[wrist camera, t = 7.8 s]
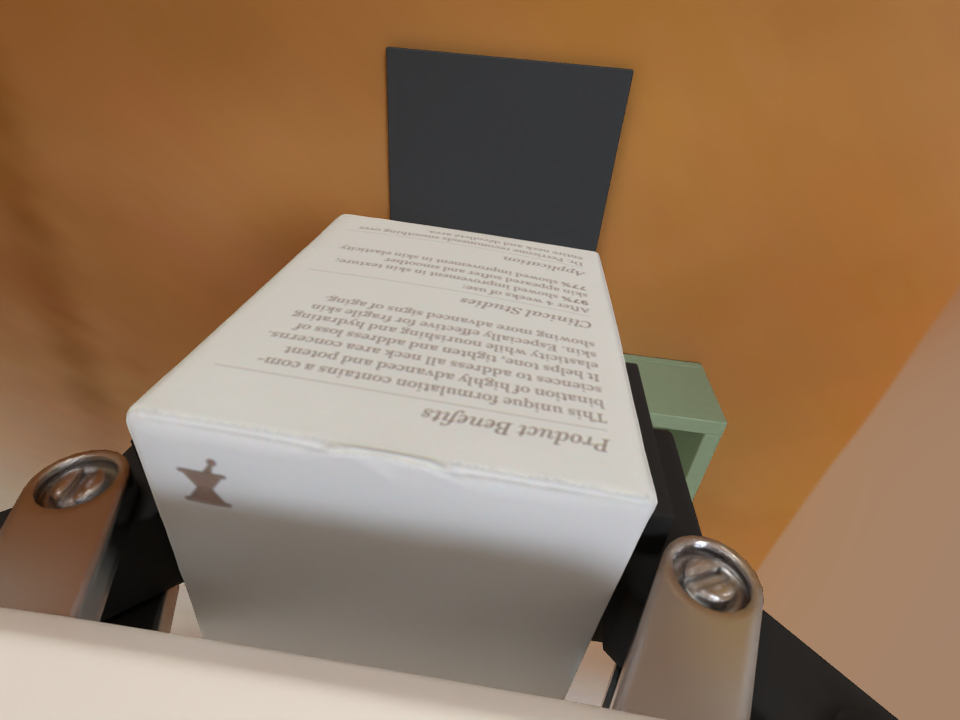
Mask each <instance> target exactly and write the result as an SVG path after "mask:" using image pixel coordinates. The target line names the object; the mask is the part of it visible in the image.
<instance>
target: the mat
mask: <svg viewBox="0 0 960 720" xmlns="http://www.w3.org/2000/svg"><path fill="white" fill-rule="evenodd" d="M386 54H387V96H388V137H389V179H390V220H393V221H400V222H407V223H414V224H421V225H428V226H435V227H441V228H448V229H454V230H461V231H468V232H474V233H481V234H487V235H494V236H500V237H506V238H513V239H519V240H525V241H532V242H538V243H544V244H550V245H556V246H563V247H569V248H575V249H581V250H587V251H594V252H596V247H597V243H598V238H599V233H600V228H601V224H602V219H603V214H604V209H605V205H606V200H607V195H608V190H609V186H610V181H611V176H612V171H613V167H614V162H615V157H616V152H617V148H618V143H619V138H620V133H621V129H622V124H623V119H624V114H625V109H626V105H627V100H628V95H629V90H630V86H631V81H632V76H633V70H632V69H622V68H611V67H600V66H589V65H579V64H568V63H557V62H546V61H536V60H525V59H514V58H503V57H492V56H482V55H471V54H460V53H449V52H439V51H428V50H417V49H406V48H396V47H387V48H386Z"/></svg>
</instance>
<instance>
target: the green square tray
mask: <svg viewBox="0 0 960 720" xmlns="http://www.w3.org/2000/svg"><path fill="white" fill-rule="evenodd" d="M623 355H624V359H625V362H628V363H636V364H637V365H638V368H639V372H640V376H641V380H642V384H643V388H644V393H645V397H646V401H647V405H648V409H649V413H650V417H651V421H652V425H653V429H661V430H668V431H670V432H671V433H672V435H673V438H674V441H675V444H676V448H677V451H678V454H679V458H680V461H681V465H682V468H683V472H684V475H685V479H686V482H687V486H688V489H689V493H690V496H691V500H693V498H694V496H695V494H696V491H697V489H698V487H699V485H700V482H701V480H702V478H703V476H704V474H705V471H706V469H707V467H708V465H709V462H710V460H711V458H712V456H713V454H714V451H715V449H716V447H717V445H718V442H719V440H720V438H721V436H722V434H723V432H724V430H725V427H726V425H727V421H726V419H725V417H724V415H723V412H722V410H721V408H720V406H719V403H718V401H717V399H716V396H715V394H714V392H713V390H712V387H711V385H710V383H709V380H708V378H707V376H706V374H705V371H704V369H703V367H702V365H701V364H700V363H692V362H684V361H677V360H669V359H661V358H653V357H645V356H637V355H629V354H623Z"/></svg>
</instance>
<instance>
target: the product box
mask: <svg viewBox="0 0 960 720" xmlns="http://www.w3.org/2000/svg"><path fill="white" fill-rule="evenodd" d="M126 423H127V426H128V429H129V432H130V434H131V437H132V439H133V442H134V444H135V447H136V450H137V452H138V455H139V458H140V461H141V463H142V466H143V469H144V472H145V475H146V477H147V480H148V483H149V486H150V488H151V491H152V494H153V497H154V500H155V502H156V505H157V508H158V511H159V513H160V516H161V518H162V521H163V523H164V526H165V529H166V532H167V535H168V538H169V541H170V544H171V546H172V549H173V551H174V555H175V558H176V561H177V564H178V568H179V570H180V573H181V575H182V578H183V580H184V583H185V585H186V588H187V591H188V594H189V597H190V600H191V602H192V606H193V609H194V612H195V615H196V618H197V621H198V624H199V627H200V630H201V633H202V636H203V639H208V640H214V641H220V642H226V643H232V644H238V645H244V646H250V647H256V648H262V649H268V650H274V651H280V652H286V653H292V654H298V655H304V656H310V657H316V658H322V659H328V660H334V661H340V662H346V663H352V664H358V665H363V666H369V667H375V668H381V669H387V670H393V671H399V672H405V673H411V674H416V675H422V676H428V677H434V678H440V679H445V680H451V681H457V682H463V683H468V684H474V685H480V686H486V687H492V688H497V689H503V690H509V691H515V692H520V693H526V694H532V695H538V696H544V697H549V698H555V699H561V700H564V698H565V696H566V694H567V692H568V690H569V688H570V686H571V683H572V681H573V679H574V677H575V674H576V672H577V670H578V668H579V665H580V663H581V661H582V659H583V657H584V654H585V652H586V650H587V648H588V645H589V643H590V641H591V639H592V637H593V635H594V632H595V630H596V628H597V626H598V623H599V621H600V619H601V617H602V615H603V613H604V611H605V609H606V607H607V605H608V603H609V601H610V598H611V596H612V594H613V592H614V590H615V588H616V586H617V584H618V582H619V580H620V578H621V576H622V574H623V572H624V570H625V567H626V565H627V563H628V561H629V559H630V557H631V555H632V553H633V551H634V549H635V546H636V544H637V542H638V540H639V538H640V536H641V534H642V532H643V530H644V528H645V526H646V524H647V522H648V520H649V518H650V517H651V515H652V513H653V512H654V510H655V508H656V505H657V503H658V502H657V496H656V491H655V487H654V484H653V480H652V476H651V473H650V469H649V465H648V461H647V457H646V453H645V449H644V445H643V440H642V435H641V431H640V426H639V422H638V418H637V414H636V410H635V405H634V401H633V397H632V392H631V387H630V383H629V378H628V374H627V370H626V365H625V359H624V355H623V351H622V345H621V341H620V337H619V333H618V328H617V324H616V320H615V316H614V312H613V307H612V304H611V300H610V296H609V292H608V288H607V284H606V280H605V276H604V272H603V268H602V265H601V261H600V257H599V254H598V253H597V252H594V251H587V250H581V249H575V248H569V247H563V246H556V245H550V244H544V243H538V242H532V241H525V240H519V239H513V238H506V237H500V236H494V235H487V234H481V233H474V232H468V231H461V230H454V229H448V228H441V227H435V226H428V225H421V224H414V223H407V222H400V221H393V220H387V219H380V218H371V217H364V216H357V215H350V214H342V215H341V216H339V217H338V218H336V219H335V220H334V221H333V222H332V223H331V224H330V225H329V226H328V227H327V228H326V229H325V230H324V231H323V232H322V233H321V234H320V235H319V236H318V237H316V238H315V239H314V240H313V241H312V242H311V243H310V244H309V245H308V246H307V247H305V248H304V249H303V250H302V251H301V252H300V253H299V254H298V255H297V256H296V257H295V258H293V259H292V260H291V261H290V262H289V263H288V264H287V265H286V266H285V267H284V268H283V269H282V270H280V271H279V272H278V273H277V274H276V275H275V276H274V277H273V278H272V279H271V280H270V281H269V282H267V283H266V284H265V285H264V286H263V287H262V288H261V289H259V290H258V291H257V292H256V293H255V294H254V295H253V296H252V297H251V298H250V299H249V300H248V301H246V302H245V303H244V304H243V305H242V306H241V307H240V308H239V309H238V310H237V311H236V312H235V313H234V314H232V315H231V316H230V317H229V318H228V319H227V320H226V321H225V322H223V323H222V324H221V325H220V326H219V327H218V328H217V329H216V330H215V331H214V332H213V333H211V334H210V335H209V336H208V337H207V338H206V339H205V340H204V341H203V342H202V343H200V344H199V345H198V346H197V347H196V348H195V349H194V350H193V351H192V352H191V353H190V354H189V355H187V356H186V357H185V358H184V359H183V360H182V361H181V362H180V363H179V364H177V365H176V366H175V367H174V368H173V369H172V370H171V371H169V372H168V373H167V374H166V375H165V376H164V377H163V378H162V379H160V380H159V381H158V382H157V383H156V384H155V385H154V386H153V387H152V388H150V389H149V390H148V391H147V392H146V393H145V394H144V395H143V396H142V397H141V398H140V399H139V400H138V401H136V402H135V403H134V404H133V405H132V406H131V407H130V409H129V410H128V412H127V418H126Z"/></svg>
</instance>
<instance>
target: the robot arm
mask: <svg viewBox="0 0 960 720" xmlns="http://www.w3.org/2000/svg"><path fill="white" fill-rule="evenodd" d="M625 365H626V370H627V374H628V378H629V383H630V387H631V392H632V397H633V401H634V405H635V410H636V414H637V418H638V422H639V426H640V431H641V435H642V440H643V445H644V449H645V453H646V457H647V461H648V465H649V469H650V473H651V476H652V480H653V484H654V487H655V491H656V496H657V502H658V503H657V505H656V508H655V510H654V512H653V513H652V515H651V517H650V518H649V520H648V522H647V524H646V526H645V528H644V530H643V532H642V534H641V536H640V538H639V540H638V542H637V544H636V546H635V549H634V551H633V553H632V555H631V557H630V559H629V561H628V563H627V565H626V567H625V570H624V572H623V574H622V576H621V578H620V580H619V582H618V584H617V586H616V588H615V590H614V592H613V594H612V596H611V598H610V601H609V603H608V605H607V607H606V609H605V611H604V613H603V615H602V617H601V619H600V621H599V623H598V626H597V628H596V630H595V632H594V635H593V637H592V639H591V641H597V642H603V650H604V651H605V652H606V653H607V654H608V655H609V656H610V657H611V658H612V659H613V661H614V662H615V666H614V669H613V672H612V675H611V678H610V680H609V683H608V686H607V689H606V692H605V695H604V698H603V701H602V704H601V706H600V707H597V706H592V705H587V704H582V703H576V702H571V701H566V700H561V699H555V698H549V697H544V696H538V695H532V694H526V693H520V692H515V691H509V690H503V689H497V688H492V687H486V686H480V685H474V684H468V683H463V682H457V681H451V680H445V679H440V678H434V677H428V676H422V675H416V674H411V673H405V672H399V671H393V670H387V669H381V668H375V667H369V666H363V665H358V664H352V663H346V662H340V661H334V660H328V659H322V658H316V657H310V656H304V655H298V654H292V653H286V652H280V651H274V650H268V649H262V648H256V647H250V646H244V645H238V644H232V643H226V642H220V641H214V640H208V639H202V638H196V637H190V636H183V635H177V634H171V633H170V630H171V625H172V620H173V615H174V610H175V606H176V601H177V596H178V591H179V584H181V583H183V582H184V580H183V578H182V575H181V573H180V570H179V568H178V564H177V561H176V558H175V555H174V551H173V549H172V546H171V544H170V541H169V538H168V535H167V532H166V529H165V526H164V523H163V521H162V518H161V516H160V513H159V511H158V508H157V505H156V502H155V500H154V497H153V494H152V491H151V488H150V486H149V483H148V480H147V477H146V475H145V472H144V469H143V466H142V463H141V461H140V458H139V455H138V452H137V450H136V447H135V444H134V442H133V439H132V440H131V443H132V446H131V447H130V448H129V449H128V450H127V451H126V452H125V453H124V454H123V455H121V454H120V453H118V452H114V451H109V450H91V451H86V452H81V453H77V454H73V455H71V456H68V457H65V458H63V459H60V460H58V461H56V462H55V463H53V464H51V465H49V466H47V467H45V468H44V469H43V470H41V471H40V472H39V473H38V474H36V475H35V476H34V477H33V478H32V479H31V480H30V481H29V482H28V484H27V485H26V486H25V487H24V489H23V491H22V492H21V494H20V496H19V498H18V499H17V501H16V503H15V505H14V506H13V508H10V509H8V510H5V511H2V512H0V720H898V719H897V718H896V717H894V716H893V715H892V714H891V713H889V712H888V711H887V710H886V709H885V708H883V707H882V706H881V705H880V704H878V703H877V702H876V701H875V700H873V699H872V698H871V697H870V696H869V695H867V694H866V693H865V692H864V691H862V690H861V689H860V688H859V687H857V686H856V685H855V684H854V683H853V682H851V681H850V680H849V679H848V678H846V677H845V676H844V675H843V674H842V673H840V672H839V671H838V670H837V669H835V668H834V667H833V666H831V665H830V664H829V663H828V662H827V661H826V660H824V659H823V658H822V657H821V656H819V655H818V654H817V653H816V652H814V651H813V650H812V649H811V648H810V647H808V646H807V645H806V644H805V643H803V642H802V641H801V640H800V639H798V638H797V637H796V636H795V635H794V634H792V633H791V632H790V631H789V630H787V629H786V628H785V627H784V626H782V625H781V624H780V623H779V622H778V621H776V620H775V619H774V618H773V617H771V616H770V615H769V614H768V613H766V612H765V611H764V610H763V603H764V599H763V588H762V586H761V583H760V581H759V579H758V576H757V574H756V572H755V571H754V570H753V569H752V567H751V566H750V565H749V563H748V562H747V561H746V560H745V559H744V558H743V557H742V556H740V555H739V554H738V553H737V552H736V551H735V550H733V549H731V548H730V547H728V546H726V545H724V544H723V543H721V542H719V541H716V540H713V539H710V538H707V537H704V536H702V534H701V531H700V527H699V524H698V520H697V517H696V513H695V510H694V507H693V503H692V500H691V496H690V493H689V489H688V486H687V482H686V479H685V475H684V472H683V468H682V465H681V461H680V458H679V454H678V451H677V448H676V444H675V441H674V438H673V435H672V433H671V432H670V431H668V430H661V429H653V425H652V421H651V417H650V413H649V409H648V405H647V401H646V397H645V393H644V388H643V384H642V380H641V376H640V372H639V368H638V365H637V364H636V363H628V362H625Z"/></svg>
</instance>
